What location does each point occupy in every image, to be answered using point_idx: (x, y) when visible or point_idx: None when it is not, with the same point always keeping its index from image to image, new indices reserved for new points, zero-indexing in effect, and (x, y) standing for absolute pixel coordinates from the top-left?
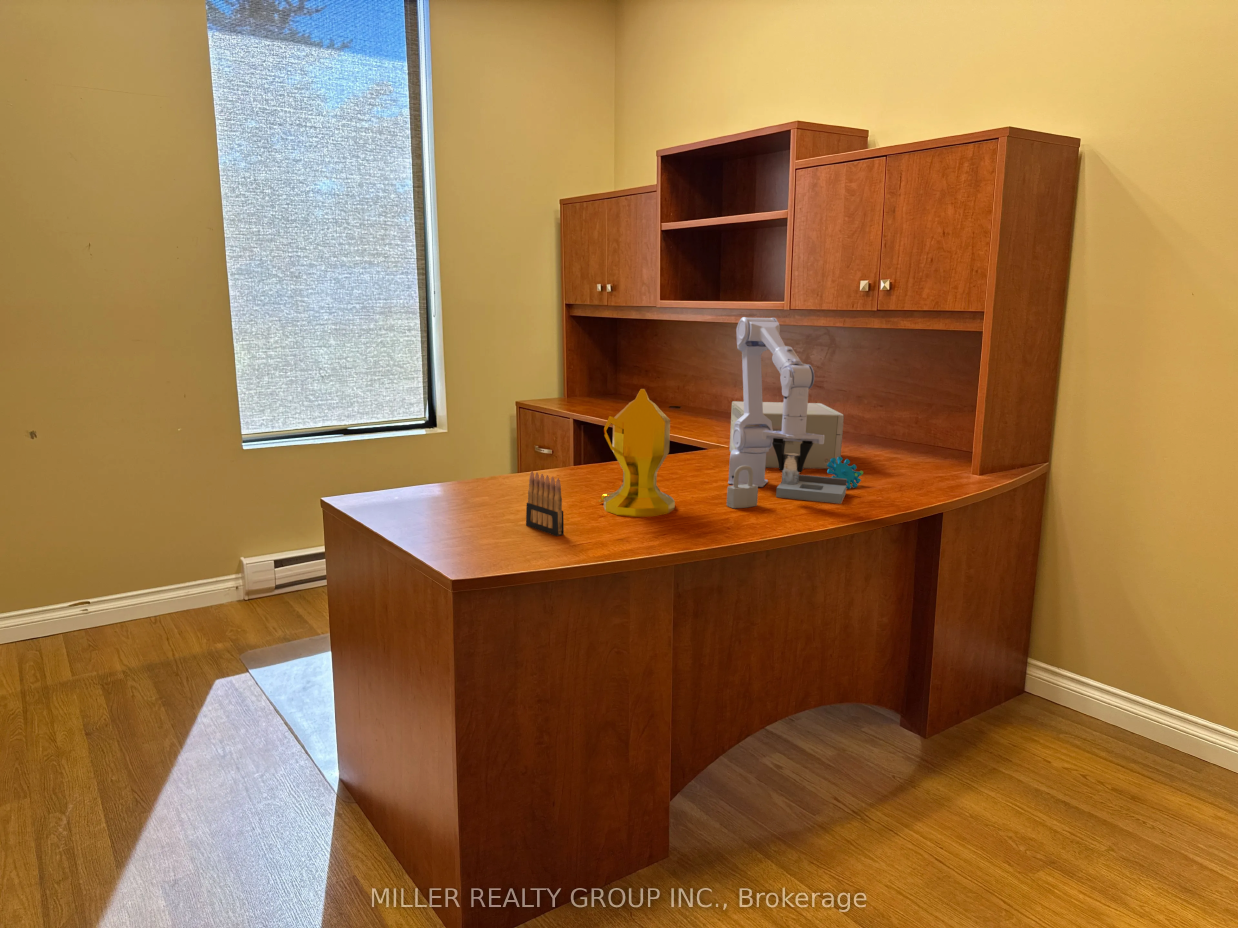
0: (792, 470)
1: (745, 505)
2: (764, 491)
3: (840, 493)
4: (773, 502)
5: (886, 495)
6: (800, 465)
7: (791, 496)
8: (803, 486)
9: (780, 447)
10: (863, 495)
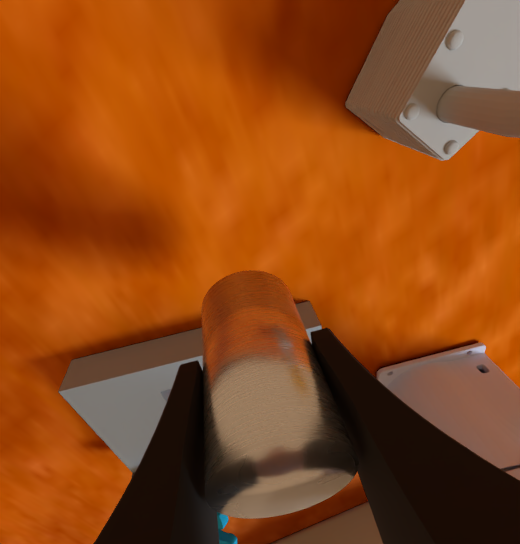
0: (230, 341)
1: (401, 2)
2: (363, 338)
3: (71, 397)
4: (293, 223)
5: (45, 491)
6: (180, 402)
7: None
8: None
9: (437, 512)
10: (92, 462)
